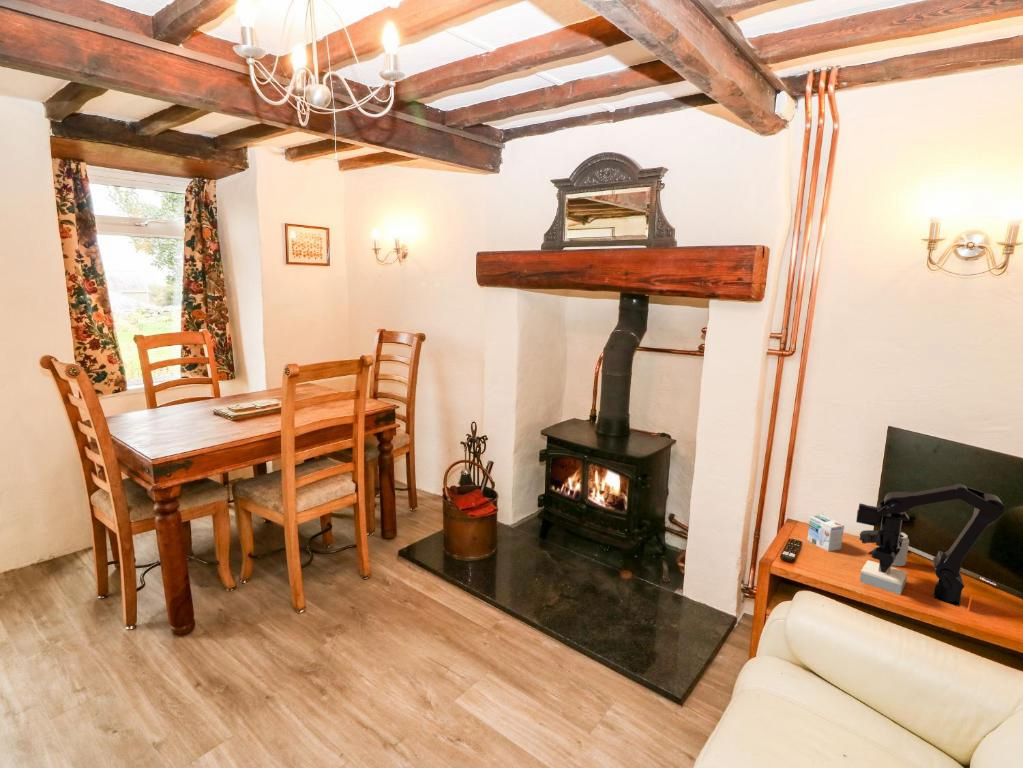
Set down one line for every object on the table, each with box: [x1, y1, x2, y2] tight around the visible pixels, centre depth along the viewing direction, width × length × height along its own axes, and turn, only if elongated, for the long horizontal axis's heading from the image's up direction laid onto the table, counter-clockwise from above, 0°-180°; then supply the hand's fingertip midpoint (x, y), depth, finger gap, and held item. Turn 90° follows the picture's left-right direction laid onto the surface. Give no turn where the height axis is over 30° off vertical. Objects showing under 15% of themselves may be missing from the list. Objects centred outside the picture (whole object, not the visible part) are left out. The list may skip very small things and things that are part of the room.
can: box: [891, 531, 910, 567], centre depth 207 cm, size 8×8×12 cm
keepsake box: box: [859, 572, 908, 596], centre depth 194 cm, size 12×10×4 cm
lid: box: [860, 559, 908, 586], centre depth 193 cm, size 12×10×5 cm
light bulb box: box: [807, 514, 845, 552], centre depth 221 cm, size 11×7×11 cm, turn 17°
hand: (884, 569), depth 194 cm, fingers open, 4 cm apart
